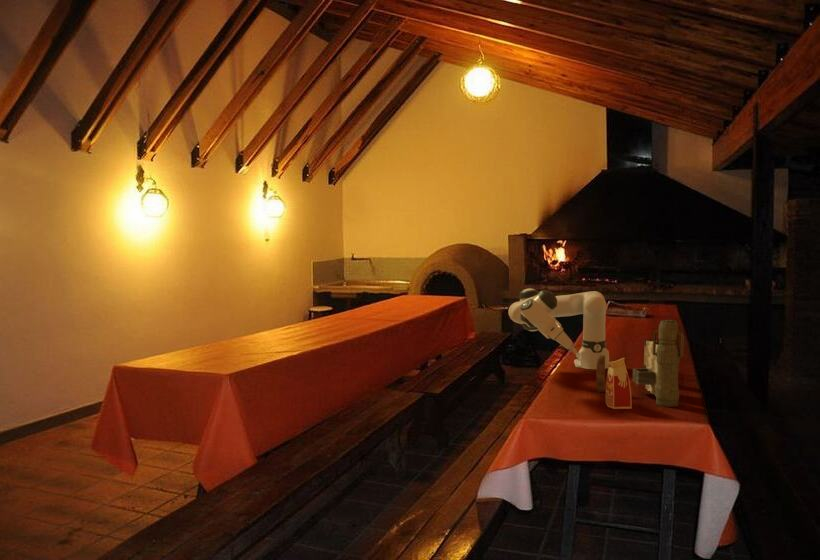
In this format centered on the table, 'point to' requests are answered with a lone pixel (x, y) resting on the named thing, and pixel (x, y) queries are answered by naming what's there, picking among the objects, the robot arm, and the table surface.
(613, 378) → the milk carton
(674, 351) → the thermos
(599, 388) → the cylinder
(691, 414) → the table surface
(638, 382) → the bracket
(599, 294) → the robot arm
